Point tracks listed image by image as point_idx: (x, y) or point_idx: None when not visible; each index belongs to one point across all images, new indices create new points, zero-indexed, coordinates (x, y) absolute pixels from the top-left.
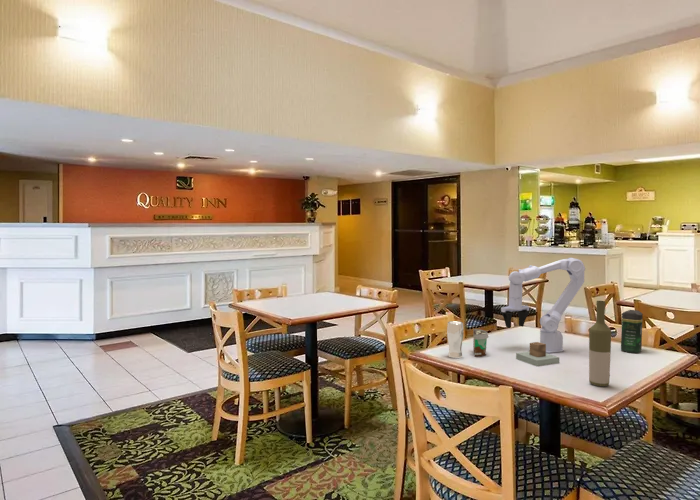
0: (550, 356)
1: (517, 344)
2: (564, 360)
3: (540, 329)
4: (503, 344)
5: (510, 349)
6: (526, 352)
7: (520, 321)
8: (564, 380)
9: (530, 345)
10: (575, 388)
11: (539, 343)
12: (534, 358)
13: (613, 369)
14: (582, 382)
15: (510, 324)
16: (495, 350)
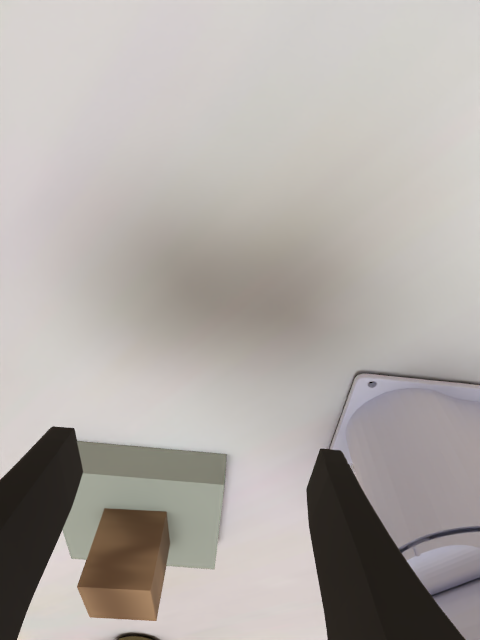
0: (186, 553)
1: (398, 186)
2: (275, 533)
3: (438, 548)
4: (270, 103)
5: (183, 286)
6: (119, 483)
7: (333, 537)
8: (68, 609)
9: (84, 573)
10: (51, 633)
11: (131, 606)
12: (81, 543)
13: (319, 619)
14: (108, 626)
15: (59, 528)
16: (36, 248)
